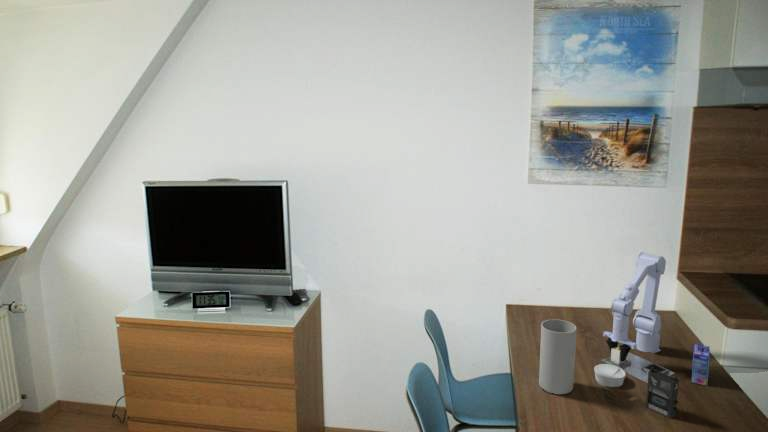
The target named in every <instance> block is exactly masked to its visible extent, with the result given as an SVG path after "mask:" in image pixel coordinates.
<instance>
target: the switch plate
mask: <svg viewBox="0 0 768 432" xmlns="http://www.w3.org/2000/svg"><path fill="white" fill-rule="evenodd" d="M601 361H602V362H603V363H605V364H610V365H615V366H617V367H620V368H621V369H623V370H624V371H625V373H627V374H628V375H630V376H632V377H634V378H636V379H639V380H641V381H642V382H644V383H646V384H648V373H649V371H650V370H651V368H652V367H654V369H655V370H656V371H658V372H661V373H663V374H666V375H669V376H671V375H674V374H676V373H675V372H674V371H672V370H670V369H668V368H665V367H664V366H661V365H659V364H656V363H654V362H652V361H649V360H647V359H645V358H643V357H640V356H639V355H636V354H633V353H632V352H631V351H629V353H628V355H627V357H626V361H625V363H623V364H620V365H619V364H617V363H615V362H613V361H611V356H608V357H606V358H603V359H601Z"/></svg>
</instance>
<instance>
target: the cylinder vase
mask: <svg viewBox="0 0 768 432" xmlns="http://www.w3.org/2000/svg"><path fill="white" fill-rule="evenodd" d="M540 325H541V327H540V346H539V349H540V350H539V372H538V374H539V375H538V385H539V387H540V388H541V389H542V390H543V389H544V390H543V391H545V392H546V393H550V394H552V393H553V395H566V394H567V395H568V394H569V393H572V391H573V389H574V379H575V378H574V377H575V376H574V375H575V362H576V361H575V358H576V345H577V344H576V342H577V341H576V340H577V326H576V325H575V323H572V322H570V321H567V320H563V319H558V318H557V319H553V318H552V319H546V320H543V321H542V322H541V324H540Z"/></svg>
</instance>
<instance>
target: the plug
mask: <svg viewBox="0 0 768 432" xmlns="http://www.w3.org/2000/svg"><path fill="white" fill-rule="evenodd" d="M619 346H620V345H619ZM619 346H618V345H617V347H614V348H611V353H610V357H611V361H613V362H615V363H617V364H619V365H620V364H623V363H625V361H626V360H625V361H623V362H622V361H621V359H620V357H621V352H620V348H619Z"/></svg>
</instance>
